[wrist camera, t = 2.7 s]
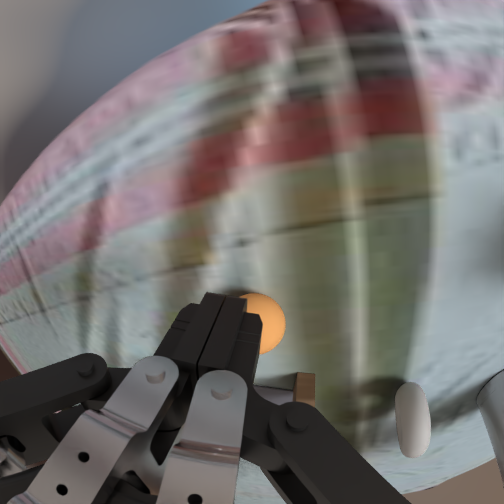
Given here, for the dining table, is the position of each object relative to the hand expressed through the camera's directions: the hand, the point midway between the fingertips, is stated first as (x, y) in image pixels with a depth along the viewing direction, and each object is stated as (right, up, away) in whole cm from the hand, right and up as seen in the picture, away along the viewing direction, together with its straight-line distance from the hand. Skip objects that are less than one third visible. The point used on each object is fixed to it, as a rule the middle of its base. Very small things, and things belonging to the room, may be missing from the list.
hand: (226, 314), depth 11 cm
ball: (+1, -4, +14) cm, 15 cm away
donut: (+21, -15, +19) cm, 32 cm away
